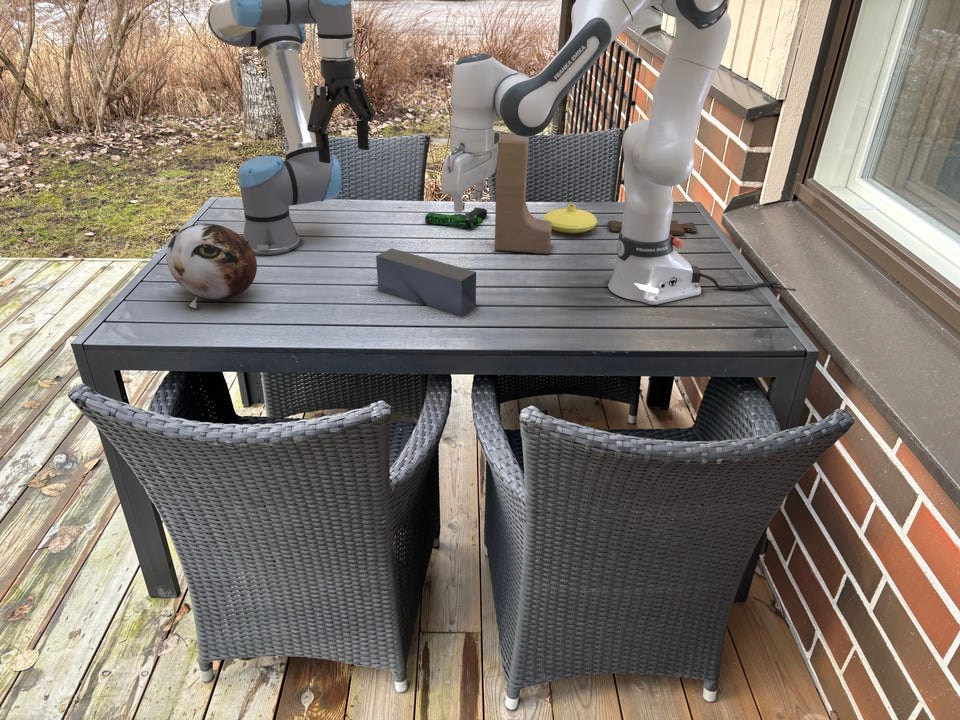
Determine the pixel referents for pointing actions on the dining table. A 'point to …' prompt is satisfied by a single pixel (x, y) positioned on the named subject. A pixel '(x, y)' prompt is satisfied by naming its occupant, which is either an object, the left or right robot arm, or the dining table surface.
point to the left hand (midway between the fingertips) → (344, 155)
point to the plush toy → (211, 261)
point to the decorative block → (516, 201)
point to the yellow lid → (571, 220)
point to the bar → (427, 281)
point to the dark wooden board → (674, 229)
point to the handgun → (458, 218)
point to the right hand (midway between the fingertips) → (468, 204)
